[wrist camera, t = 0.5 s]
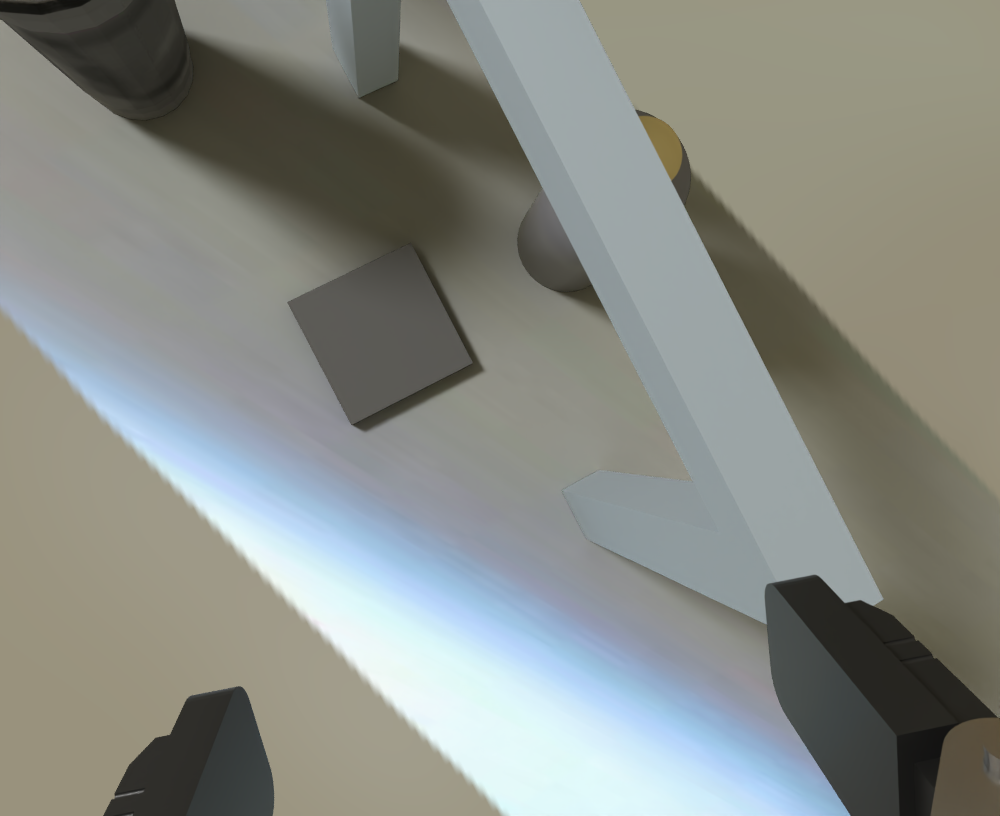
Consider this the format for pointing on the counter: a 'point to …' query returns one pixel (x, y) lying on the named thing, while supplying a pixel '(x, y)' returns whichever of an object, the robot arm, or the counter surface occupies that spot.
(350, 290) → the mat
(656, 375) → the rectangular arch frame
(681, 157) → the bottle
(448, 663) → the counter surface
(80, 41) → the beverage cup
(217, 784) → the robot arm
